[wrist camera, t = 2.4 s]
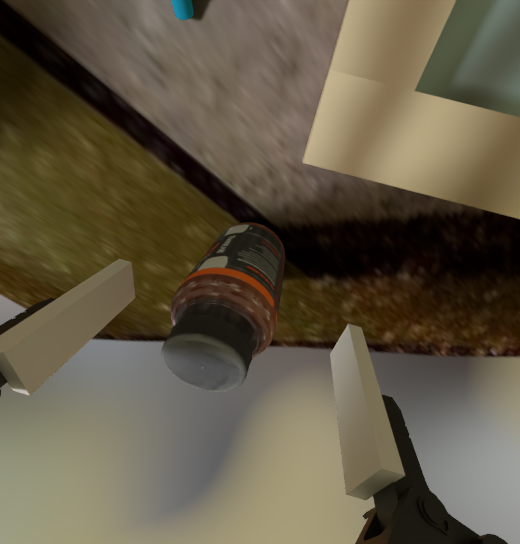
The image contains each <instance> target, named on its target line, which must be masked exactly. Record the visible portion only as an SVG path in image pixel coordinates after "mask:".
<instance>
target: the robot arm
mask: <svg viewBox="0 0 520 544" xmlns="http://www.w3.org/2000/svg"><path fill="white" fill-rule="evenodd" d="M134 298H135V291H134V281H133V272H132V263H131V262H129V261H125V260H122V259H118V260H117V261H115V262H113V263H112V264H110V265H109V266H107V267H106V268H104V269H103V270H101V271H99V272H98V273H96V274H95V275H93V276H92V277H90V278H89V279H87V280H85V281H84V282H82V283H81V284H79V285H78V286H76V287H75V288H73V289H71V290H70V291H68V292H67V293H65V294H64V295H62V296H61V297H59V298H57V299H53V298H50V299H47V300H44V301H42V302H39V303H36V304H35V305H33V306H31V307H30V308H28V309H27V310H25V311H24V312H23V313H20V314H18V315H17V316H15V317H14V318H13V319H11V320H9V321H7V322H5V323H4V324H2V325H0V387H2V386H3V385H4V384H5V383H7V382H8V384H9V385H10V387H11V388H12V390H14V391H17V392H20V393H23V394H26V395H32V394H33V393H34V392H35V391H36V390H37V389H38V388H39V387H40V386H41V385H42V384H43V383H44V382H45V381H47V380H48V379H49V378H50V377H51V376H52V375H53V374H54V373H55V372H56V371H57V370H58V369H59V368H61V367H62V366H63V365H64V364H65V363H66V362H67V361H68V360H69V359H70V358H71V357H72V356H73V355H74V354H76V353H77V352H78V351H79V350H80V349H81V348H82V347H83V346H84V345H85V344H86V343H87V342H88V341H89V340H91V339H92V338H93V337H94V336H95V335H96V334H97V333H98V332H99V331H100V330H101V329H102V328H103V327H104V326H106V325H107V324H108V323H109V322H110V321H111V320H112V319H113V318H114V317H115V316H116V315H117V314H118V313H119V312H121V311H122V310H123V309H124V308H125V307H126V306H127V305H128V304H129V303H130V302H131V301H132V300H133V299H134ZM330 358H331V366H332V375H333V384H334V392H335V401H336V410H337V419H338V426H339V427H338V428H339V436H340V444H341V454H342V462H343V471H344V480H345V489H346V494H347V495H350V496H353V497H357V498H360V499H363V500H367V499H369V498H370V497H372V496H373V497H374V503H375V508H373V509H371V510H370V511H368V512H366V513H365V514H364V515H363V517H364V518H365V519H367V518H368V520H367V522H366V524H365V526H364V528H363V530H362V532H361V533H360V535H359V537H358V540H357V542H356V543H355V544H508V543H507V542H505V541H504V540H503V539H501V538H499V537H498V536H496V535H492V534H486V535H482V536H479V535H478V534H476V533H475V532H474V531H472V530H470V529H469V528H468V527H466V526H465V525H463V524H462V523H461V522H459V521H458V520H456V519H455V518H453V517H452V516H451V515H450V514H448V512H447V511H446V509H445V507H444V505H443V504H442V503H441V501H440V500H439V499H438V498H437V496H436V495H434V494H433V493H432V492H431V491H430V490H429V488H428V486H427V484H426V481H425V478H424V476H423V473H422V470H421V467H420V464H419V461H418V458H417V456H416V453H415V450H414V447H413V444H412V441H411V439H410V438H409V433H408V430H407V427H406V426H405V421H404V419H403V416H402V413H401V410H400V409H399V407H398V406H397V404H396V403H395V401H394V400H393V398H392V397H388V396H385V395H382V394H381V392H380V389H379V385H378V382H377V379H376V375H375V372H374V368H373V365H372V362H371V359H370V355H369V352H368V348H367V345H366V341H365V338H364V335H363V331H362V328H361V327H357V326H354V325H350V324H348V325H347V327H346V329H345V330H344V332H343V334H342V335H341V337H340V339H339V340H338V342H337V344H336V345H335V347H334V349H333V350H332V352H331V354H330ZM0 395H1V390H0Z"/></svg>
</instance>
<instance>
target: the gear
mask: <svg viewBox="0 0 520 544" xmlns="http://www.w3.org/2000/svg"><path fill="white" fill-rule="evenodd" d="M171 1H172V5H173V8H174V12H175V16H176V17H177V18H178V19H181V20H187V19H190V18H191V17H192V16H193V15H194V10H193V6H192V1H191V0H171Z"/></svg>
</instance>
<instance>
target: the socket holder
mask: <svg viewBox="0 0 520 544" xmlns="http://www.w3.org/2000/svg"><path fill="white" fill-rule="evenodd" d="M303 163H305V164H309V165H313V166H317V167H321V168H325V169H328V170H332V171H336V172H340V173H344V174H348V175H352V176H355V177H359V178H363V179H367V180H371V181H375V182H379V183H382V184H386V185H390V186H394V187H398V188H402V189H406V190H409V191H413V192H417V193H421V194H425V195H429V196H433V197H437V198H440V199H444V200H448V201H452V202H456V203H460V204H464V205H467V206H471V207H475V208H479V209H483V210H487V211H491V212H494V213H498V214H502V215H506V216H510V217H514V218H518V219H520V0H348V2H347V5H346V9H345V12H344V16H343V19H342V23H341V26H340V30H339V33H338V37H337V40H336V44H335V47H334V51H333V54H332V58H331V61H330V65H329V68H328V72H327V75H326V79H325V82H324V86H323V89H322V93H321V96H320V99H319V103H318V106H317V110H316V113H315V117H314V120H313V124H312V127H311V131H310V134H309V138H308V141H307V145H306V148H305V152H304V155H303Z"/></svg>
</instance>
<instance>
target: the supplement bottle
mask: <svg viewBox="0 0 520 544" xmlns="http://www.w3.org/2000/svg"><path fill="white" fill-rule="evenodd" d="M284 267H285V251H284V247H283V244H282V242H281V240H280V239H279V237H278V236H277V235H276V234H275V233H274V232H273V231H272V230H270V229H269V228H267V227H265V226H263V225H261V224H258V223H252V222H244V223H239V224H236V225H233V226H231V227H229V228H228V229H227V230H226V231H225V232H224V233H223V234H221V236H220V237H219V238H218V239H217V241H216V242H215V243H214V244H213V246H212V247H211V248H210V249H209V251H208V252H207V253H206V255H205V256H204V257H203V258H202V260H201V261H200V262H199V263H198V264H197V265H196V267H195V268H194V269H193V270H192V272H191V273H190V274H189V275H188V277H187V278H186V279H185V281H184V282H183V283H182V285H181V286H180V287H179V288H178V290H177V292H176V293H175V295H174V297H173V299H172V302H171V310H170V312H171V319H172V324H173V328H172V330H171V333H170V334H169V336H168V338H167V340H166V341H165V343H164V345H163V347H162V353H161V354H162V359H163V362H164V364H165V366H166V368H167V369H168V370H169V371H170V372H171V373H172V374H173V375H174V376H175V377H176V378H178V379H179V380H180V381H182V382H184V383H186V384H188V385H190V386H193V387H195V388H198V389H201V390H206V391H212V392H223V391H229V390H233V389H235V388H237V387H239V386H240V385H241V384H242V383H243V382H244V380H245V378H246V376H247V372H248V368H249V365H250V362H251V360H252V358H253V357H255V356H257V355H258V354H260V353H261V352H262V351H264V350H265V349H266V348H267V347H268V345H269V344H270V342H271V340H272V338H273V335H274V332H275V329H276V323H277V317H278V309H279V302H280V295H281V288H282V282H283V274H284Z"/></svg>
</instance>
